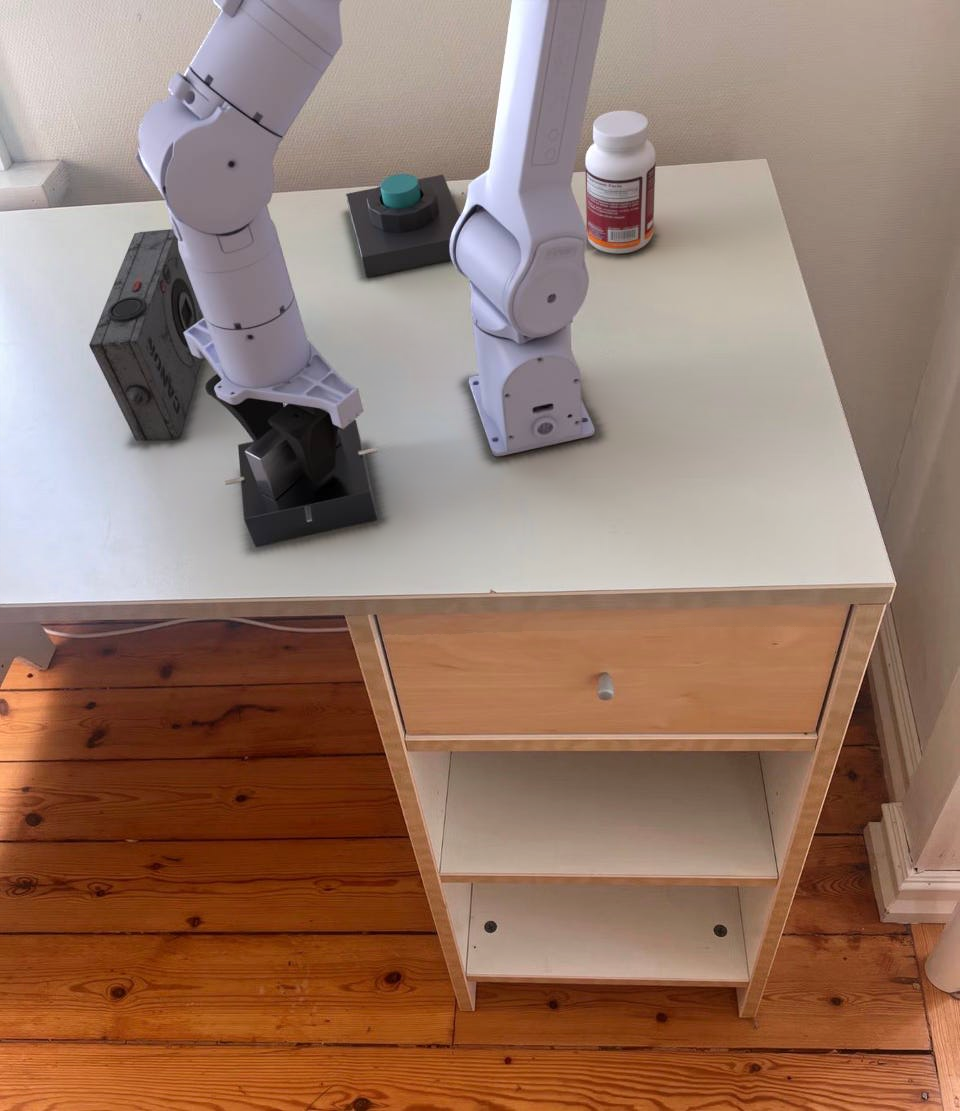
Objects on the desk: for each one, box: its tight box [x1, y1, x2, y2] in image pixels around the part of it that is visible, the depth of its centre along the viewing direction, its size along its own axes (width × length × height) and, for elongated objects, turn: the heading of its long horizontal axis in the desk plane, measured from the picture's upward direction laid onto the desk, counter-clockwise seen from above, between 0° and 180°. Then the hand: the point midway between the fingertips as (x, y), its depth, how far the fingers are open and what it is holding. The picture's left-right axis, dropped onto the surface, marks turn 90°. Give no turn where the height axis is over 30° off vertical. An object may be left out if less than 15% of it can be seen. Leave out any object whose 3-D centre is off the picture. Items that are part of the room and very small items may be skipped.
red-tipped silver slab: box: [245, 427, 342, 500], centre depth 69 cm, size 7×2×4 cm, turn 142°
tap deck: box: [224, 419, 378, 548], centre depth 71 cm, size 11×11×3 cm
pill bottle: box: [584, 109, 657, 254], centre depth 87 cm, size 6×6×11 cm
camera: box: [88, 228, 204, 442], centre depth 79 cm, size 16×4×10 cm, turn 0°
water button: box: [379, 173, 421, 209], centre depth 92 cm, size 4×4×2 cm
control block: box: [345, 174, 461, 278], centre depth 93 cm, size 12×10×4 cm
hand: (299, 461), depth 70 cm, fingers open, 4 cm apart
